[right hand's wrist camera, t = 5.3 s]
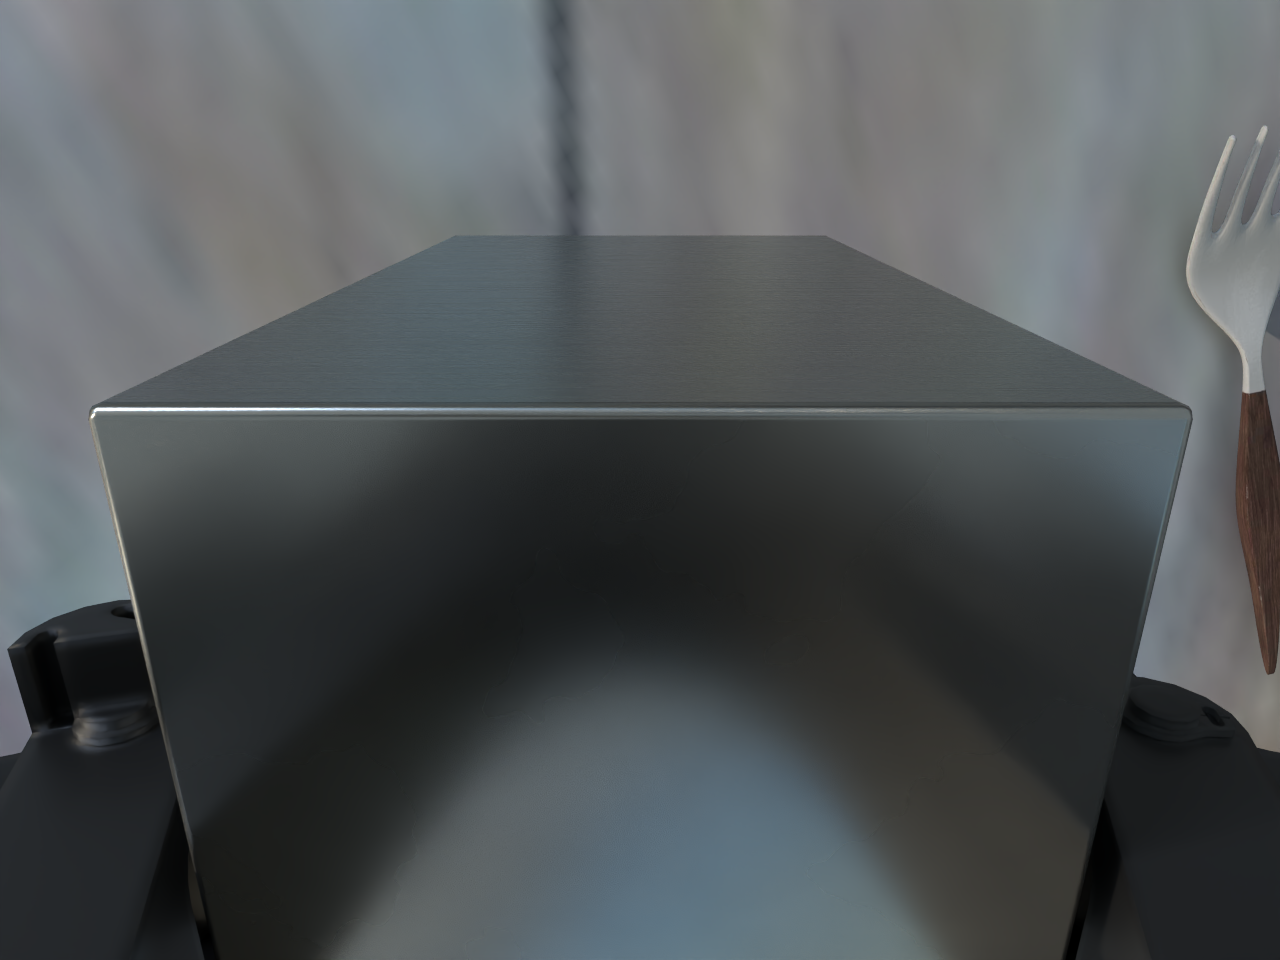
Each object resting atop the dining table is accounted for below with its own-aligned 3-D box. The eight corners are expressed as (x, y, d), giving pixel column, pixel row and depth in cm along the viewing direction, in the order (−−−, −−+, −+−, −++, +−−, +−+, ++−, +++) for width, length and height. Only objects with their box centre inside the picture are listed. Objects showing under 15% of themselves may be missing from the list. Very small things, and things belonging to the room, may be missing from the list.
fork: (1214, 674, 27) (1258, 714, 25) (1172, 139, 21) (1223, 138, 19) (1302, 653, 26) (1353, 692, 25) (1282, 106, 21) (1345, 101, 19)
